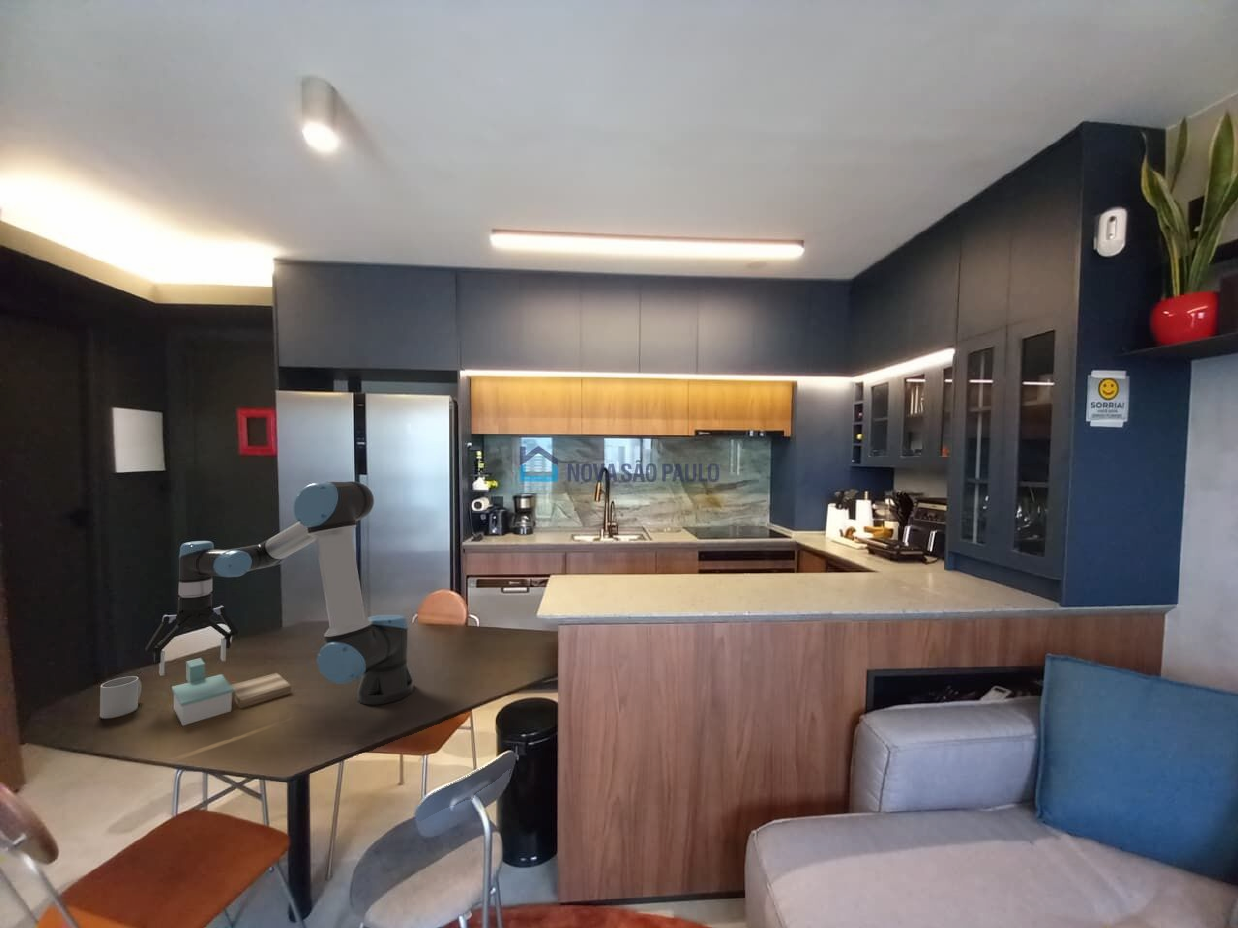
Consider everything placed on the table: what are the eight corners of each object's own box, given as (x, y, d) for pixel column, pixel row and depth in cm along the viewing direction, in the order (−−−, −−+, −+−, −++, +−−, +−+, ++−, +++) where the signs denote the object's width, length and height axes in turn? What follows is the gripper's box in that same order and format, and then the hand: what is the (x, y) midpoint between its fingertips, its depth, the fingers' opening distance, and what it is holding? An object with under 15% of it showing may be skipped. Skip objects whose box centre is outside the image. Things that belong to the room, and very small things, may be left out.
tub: (231, 713, 131) (231, 691, 131) (182, 728, 123) (182, 705, 123) (219, 697, 140) (220, 677, 140) (173, 711, 132) (174, 689, 132)
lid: (233, 693, 131) (234, 673, 131) (181, 708, 123) (181, 686, 123) (216, 672, 145) (217, 654, 145) (168, 684, 137) (168, 665, 137)
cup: (91, 722, 127) (92, 688, 127) (125, 703, 136) (126, 672, 137) (121, 720, 127) (122, 686, 128) (153, 702, 137) (154, 671, 137)
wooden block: (290, 695, 142) (290, 685, 142) (240, 710, 133) (240, 699, 133) (276, 681, 151) (276, 672, 151) (228, 695, 142) (228, 685, 142)
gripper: (244, 584, 152) (243, 651, 152) (133, 600, 133) (131, 676, 133) (251, 588, 147) (249, 657, 147) (137, 605, 128) (134, 684, 128)
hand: (193, 666), depth 140 cm, fingers open, 13 cm apart
